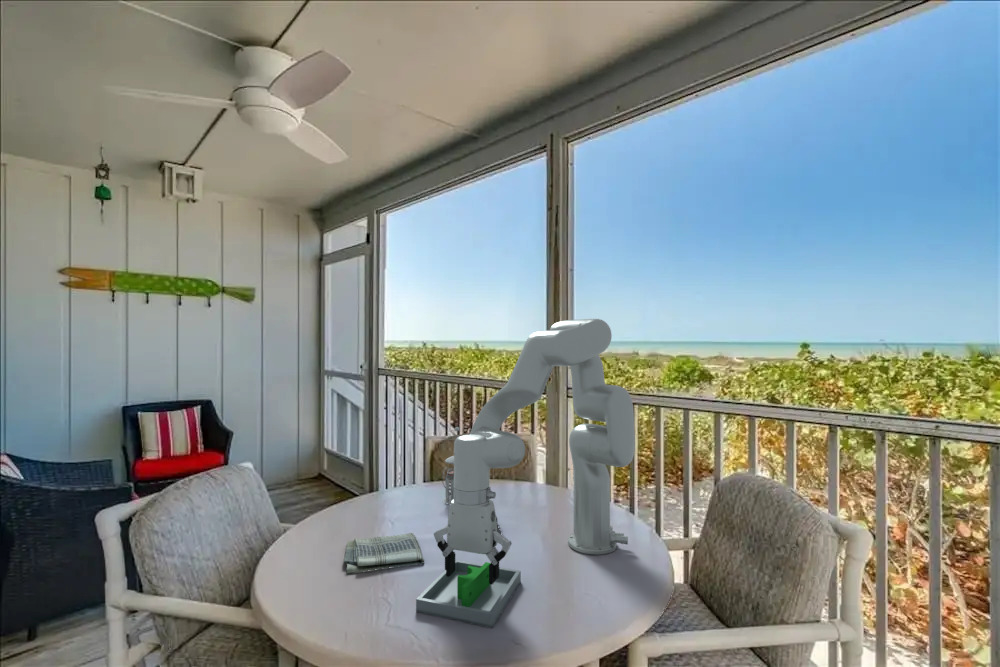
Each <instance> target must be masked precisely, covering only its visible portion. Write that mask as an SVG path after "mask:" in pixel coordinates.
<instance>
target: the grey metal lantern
mask: <svg viewBox="0 0 1000 667" xmlns="http://www.w3.org/2000/svg"><path fill="white" fill-rule="evenodd" d="M460 430H461V429H460V427H459V426H456V427H455V428H454V430H453V431H454V432H460ZM444 462H445V463H446V464H449V465H454V455H452V456H450V457H449V456H448V458H446V459H445V460H444ZM446 470H447V471H446ZM445 472H446V476H445V484H444V482H442V485H443V487H444V488H445V497H444V498H443V499H444V500H443V499H442V502H443V501H444V502H445V503H448V504H451V501H452V500H453V499H454V469H453V467H451V466H450V468H448V466H446V467H445V468H444V470H443V473H442V477H444V474H445Z"/></svg>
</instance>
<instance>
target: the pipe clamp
mask: <svg viewBox="0 0 1000 667" xmlns="http://www.w3.org/2000/svg"><path fill="white" fill-rule="evenodd" d="M490 563H491V562H487V561H486V562H484V564H483V565H482V566H481V567H480V568H478V567H473V566H468V567H467V575H459V576H458V577H457V599H461V600H462V606H465V607H470V606H471V605H472V604H473V603H474V602H475V600H476V599H477V598H478V597H479V596H480V595H481V594H482V593H483V592H484V590H485V589H486V588H487V587H488V586H489V585H490V583H489V565H490Z"/></svg>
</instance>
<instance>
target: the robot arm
mask: <svg viewBox="0 0 1000 667" xmlns="http://www.w3.org/2000/svg"><path fill="white" fill-rule="evenodd" d="M612 336H613V335H612V330H611V327H610V325H609V324H608V323H607V322H606V321H604V320H603V319H600V318H587V319H586V318H585V319H567V320H561V321H558V322H554V324H552V325H551V327H550V328H549V330H540V331H536V332H533V333H531V334H530V335H529V336H528V337H527V339H526V341H525V342H524V345H523V347H522V350H521V352H520V353H519V355H518V356H519V357H518V359H517V361H516V363H515V365H514V367H513V370H512V371H511V374H510V376H509V379H508V381H507V383H506V384H505V385H504V386H503V387H502V388H501V389H499V390H498V391H497V392H496V393H495V394H494V395H493V396H492V397H491V398H490V399H489V400H488V401H487V402H486V403H485V404H484V406H482V407H481V410H480V411H479V413H478V415H477V416H476V419H475V421H474V423H473V425H472V427H471V430H470V432H469V434H463V435H459V436H456V438H455V439H454V442H453V456H454V464H453V470H454V499H453V500H452V501H451V505H449V510H448V518H447V524H446V525H447V526H445V527H442V528H439V529H438V530H436V531H435V532H434V533H433V537H434V539H435V541H436V544H437V548H439V550H440V551H441V552H442V553H441V554H442V556H443V557H444V571H445V570H446V576H447V577H449V576H451V575H452V574H453V573H454V571H455V560H456V552H455V551H459V552H460V551H461V552H467V553H473V554H480V555H486V557H487V558H488V560H489V563H490V565H489V583H490V584H491V585H493V583H494V582H495V581H496V579H498V577H499V567H500V561H502V559H504V558H505V557H506V555H507V554H508V552H509V550H510V549H511V546H512V541H511V539H510V540H509V539H508V538H507V537H505V536H504V535H503V534H502V535H503V536H502V535H501V534H500V533H498V532H497V522H498V519H497V520H496V517H497V513H496V508H495V504H494V500H492V499H496V495H497V494H496V491H492V490H491V486H490V470H491V469H508V468H512V467H515V466H517V465H519V464H520V463H521V461H522V460H523V459H524V457H525V454H526V446H525V442H524V441H523V439H522V438H521V437H520V436H518V435H517V434H515V433H513V432H508V431H503V430H500V429H501V427H502V425H503V424H504V422H505V421H506V420H507V419H508V418H509V416H512V414H514V413H516V412H517V411H519V410H521V409H523V408H527V407H528V406H530V405H533V404H534V403H536V402H538V401H539V400H541V398H542V396H543V392H544V390H545V388H546V386H547V383H548V381H549V378H550V376H551V374H552V371H553V369H554V367H569V368H570V374H571V376H570V377H571V391H572V394H571V395H572V404H573V411H574V413H575V415H576V416H578V417H579V418H581V419H583V420H584V419H585V420H589V421H595V422H596V421H597V422H601V423H605V425H601V424H595V423H582V424H578V425H576V426H575V427H573V429H572V431H571V432H570V434H569V438H568V443H569V444H568V445H569V446H568V447H569V451H570V452H569V453H570V456H571V461H572V474H573V477H572V478H573V481H572V482H573V483H572V484H573V485H572V486H573V490H572V491H573V492H572V494H573V500H572V501H573V503H572V504H573V505H572V506H573V533H572V534H569V536H568V537H567V545H568V547H570V548H571V549H572V550H574V551H576V552H579V553H580V554H581V553H582V554H585V555H593V556H594V555H607V554H610V553H612V552H614V551H615V550H616V549H617V544H622V545H629V536H627V535H625V534H624V533H623V532H616V531H615V530H613V525H611V504H610V503H611V478H610V473H609V470H608V468H607V466H611V467H617V468H623V467H628V466H629V465H630V464H631V463H632V461H633V459H634V455H635V453H636V452H635V451H636V450H635V449H636V437H635V436H636V435H635V415H634V414H635V412H634V405H633V404H634V403H633V400H632V397H631V394H630V393H629V391H628V390H626V388H624V387H622V386H619V385H617V384H616V385H614V384H607V383H606V382H605V374H604V373H605V372H604V365H603V364H604V363H603V361H602V359H601V356H600V355H601V354H603V353H604V352H605V351H606V350H607V349H608V348H609V346H610V344H611V342H612ZM444 535H446V540H445V539H444ZM498 544H499V545H501V549H500V551H499V550H498V549H497V547H496V546H497V545H498ZM454 550H455V551H454Z"/></svg>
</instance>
